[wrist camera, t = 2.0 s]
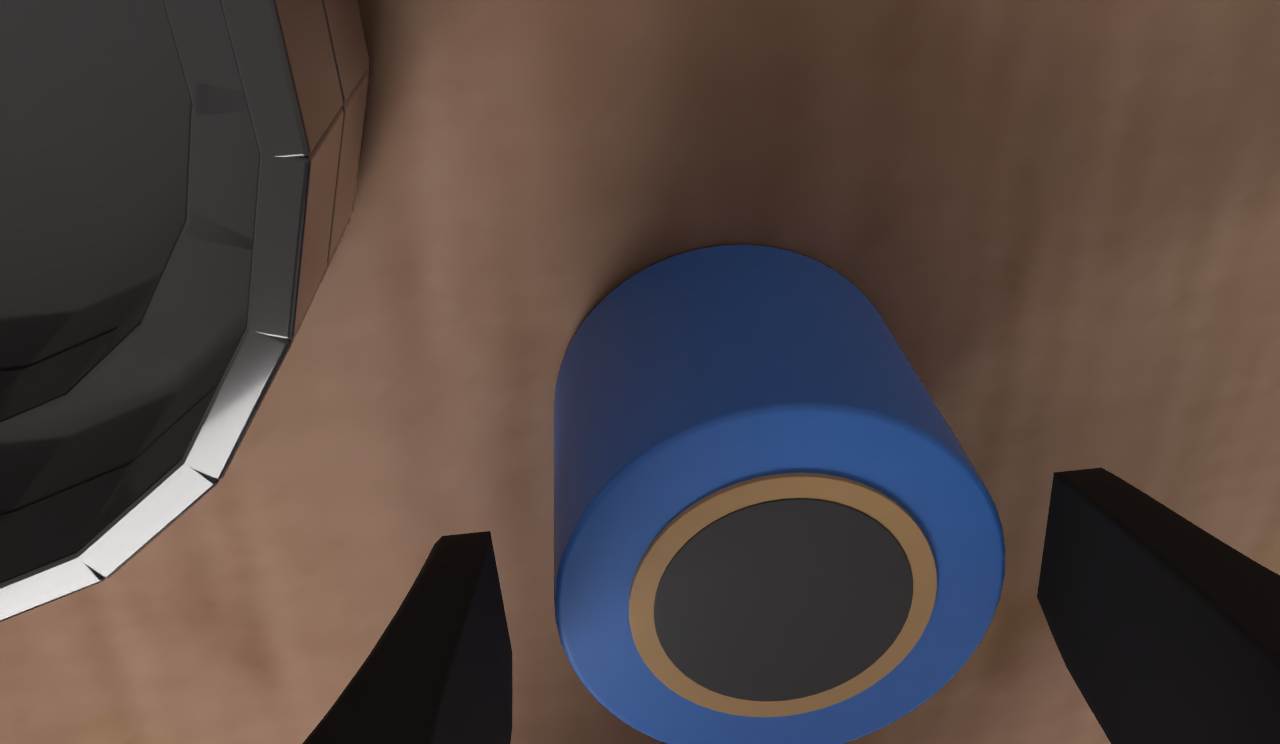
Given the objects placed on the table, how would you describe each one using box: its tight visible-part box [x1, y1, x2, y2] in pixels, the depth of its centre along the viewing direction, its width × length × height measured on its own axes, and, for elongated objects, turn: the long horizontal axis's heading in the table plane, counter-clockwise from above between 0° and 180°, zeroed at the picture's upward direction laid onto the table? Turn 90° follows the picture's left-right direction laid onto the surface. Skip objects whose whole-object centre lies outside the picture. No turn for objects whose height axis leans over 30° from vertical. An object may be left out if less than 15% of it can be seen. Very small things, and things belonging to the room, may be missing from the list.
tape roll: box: [554, 244, 1005, 744], centre depth 15 cm, size 6×6×5 cm
